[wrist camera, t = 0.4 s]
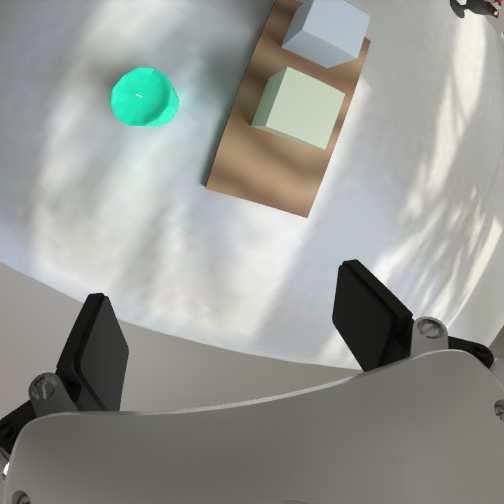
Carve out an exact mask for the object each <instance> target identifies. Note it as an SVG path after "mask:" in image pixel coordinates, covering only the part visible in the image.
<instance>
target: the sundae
mask: <svg viewBox="0 0 504 504" xmlns="http://www.w3.org/2000/svg"><path fill="white" fill-rule="evenodd" d="M450 4H451V7H452V9H453V11H454V12H455V14H456V15H457V16H459V17H460V18H464V16H465V15H464V10H466V9H469V10H471V11H472V12H473V13H475V14H481V15H493V16H494V17H496V18H498V10H499V9H501V0H467V1H466V5H460V4H459V3H458V2H457V1H456V0H450Z"/></svg>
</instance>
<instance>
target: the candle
mask: <svg viewBox="0 0 504 504" xmlns="http://www.w3.org/2000/svg"><path fill="white" fill-rule="evenodd" d="M110 104H111V107H112V109H113V112H114V114H115V116H116V118H117V119H119V120H120V121H122V122H124V123H125V124H127V125H128V126H155V127H159V126H161V125H163V124H166V123H168V122H170V121H171V119H172V118H173V117H174V116H175V114H176V113H177V111H178V105H179V99H178V96H177V94H176V92H175V90H174V88H173V86H172V85H171V83H170V81H169V80H168V78H167V77H166V75H164V74H162V73H161V72H159V71H157V70H156V69H154V68H136V69H134V70H132V71H131V72H129V73H127V74H125V75H124V76H123V77H122V78H121V79H120V80H119V81H118V83H117V84H116V85H115V86H114V87H113V89H112V96H111V103H110Z"/></svg>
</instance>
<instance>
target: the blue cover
mask: <svg viewBox="0 0 504 504" xmlns="http://www.w3.org/2000/svg"><path fill="white" fill-rule="evenodd" d="M369 20H370V16H368V15H367V14H365V13H363V12H362V11H360V10H358V9H357V8H355V7H353V6H352V5H350V4H348V3H346V2H345V1H343V0H306V1H305V2H304V3H303V4H302V5H301V6H300V7H299V8H298V9H297V10H296V12H295V14H294V16H293V19H292V21H291V24H290V26H289V28H288V31H287V33H286V36H285V38H284V41H283V43H282V45H281V48H283V49H286V50H288V51H291V52H293V53H295V54H298V55H300V56H302V57H304V58H307V59H309V60H311V61H313V62H315V63H317V64H319V65H321V66H323V67H325V68H330V67H333V66H336V65H339V64H342V63H345V62H348V61H351V60H354V59H357V58H358V55H359V52H360V49H361V46H362V43H363V39H364V36H365V33H366V30H367V27H368V24H369Z"/></svg>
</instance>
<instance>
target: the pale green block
mask: <svg viewBox="0 0 504 504" xmlns="http://www.w3.org/2000/svg"><path fill="white" fill-rule="evenodd" d="M344 96H345V93H343V92H341V91H339V90H337V89H335V88H333V87H331V86H329V85H327V84H325V83H323V82H321V81H319V80H317V79H315V78H313V77H310V76H308V75H306V74H304V73H302V72H299V71H297V70H295V69H292V68H290V67H286V68H284V69H283V70H281V71H280V72H278V73H276V74H275V75H273V76H271V77H270V78H269V79H268V81H267V84H266V86H265V89H264V92H263V94H262V97H261V100H260V102H259V105H258V108H257V111H256V113H255V116H254V119H253V122H252V124H251V127H254V128H257V129H260V130H263V131H266V132H269V133H272V134H274V135H277V136H280V137H283V138H285V139H288V140H291V141H293V142H296V143H298V144H302V145H306V146H311V147H315V148H320V149H324V150H325V149H326V146H327V144H328V141H329V138H330V136H331V133H332V130H333V127H334V125H335V122H336V119H337V116H338V113H339V111H340V108H341V105H342V102H343V99H344Z"/></svg>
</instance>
